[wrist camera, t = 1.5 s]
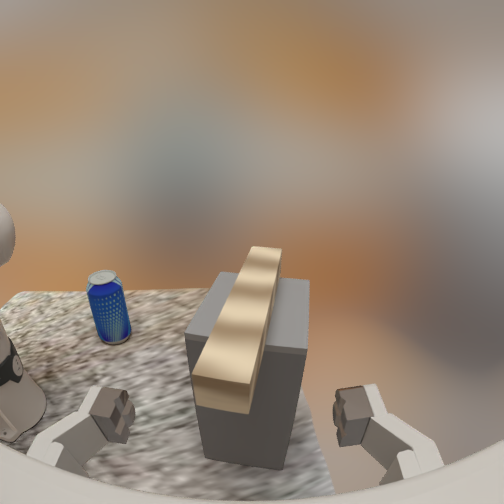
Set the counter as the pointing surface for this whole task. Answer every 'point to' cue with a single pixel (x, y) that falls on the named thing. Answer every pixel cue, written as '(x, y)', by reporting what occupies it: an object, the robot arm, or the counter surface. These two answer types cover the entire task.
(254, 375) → the maple bar
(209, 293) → the charcoal stand
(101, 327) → the beer can
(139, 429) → the counter surface
